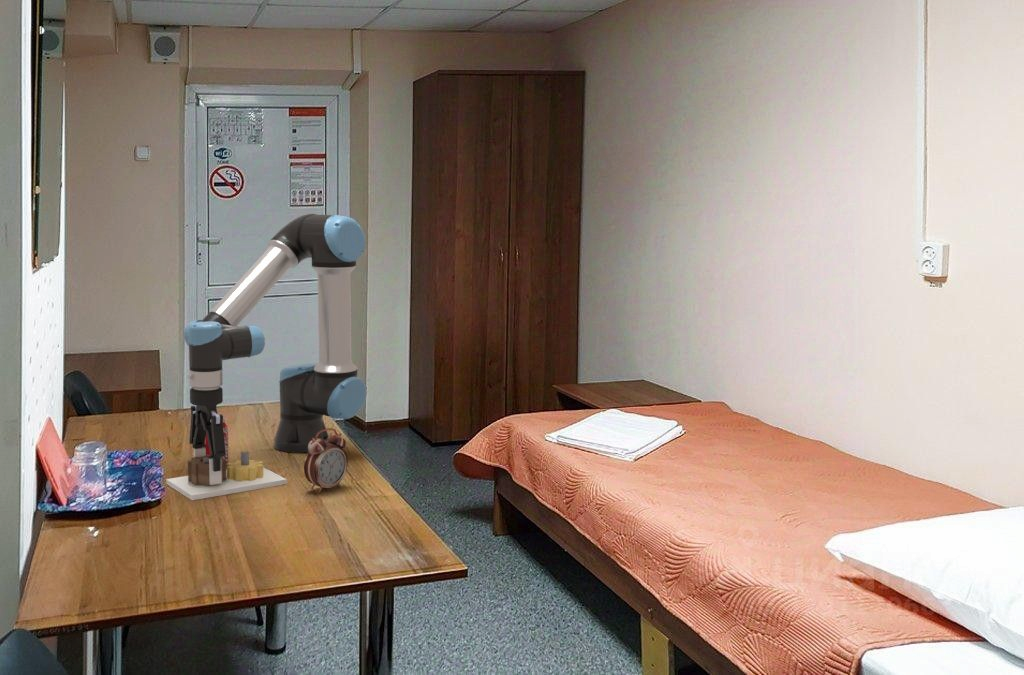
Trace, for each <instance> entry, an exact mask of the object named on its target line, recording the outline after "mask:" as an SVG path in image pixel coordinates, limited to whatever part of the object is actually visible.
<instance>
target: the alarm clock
mask: <svg viewBox="0 0 1024 675" xmlns="http://www.w3.org/2000/svg"><path fill="white" fill-rule="evenodd" d="M323 431H327V432H328V431H334V434H333V435H331V436H329V440H328V439H327V440H322V439H320V438H317V437H318V435H319V434H320V433H321V432H323ZM325 442H328V443H325ZM345 448H346V440H345V438H344V437H342V432H340V433H338V432H337V430H336V428H332V427H331V428H326V429H323V430H321V431H319V432H318V433H317V435H316V437H315V439H314V438H312V440H311V441H310V442H309V444H308V451H309V452H307V454H306V455H305V458H304V460H303V461H304V462H303V473H304V475H305V478H306V480H307V481H308V482H309V483H310V484H311V485H312V487H311V488H310V489H311V490H313V489H314V487H315V486H316V487H319V489H318V492H317V493H318V494H320V493H321V491H322V489H323V488H326V489H331V488H334V487H336V486H338V488H339V487H340V488H341V487H342V486H341V482H342V481H343V479H344V477H345V475H346V473H347V471H348V465H349V464H348V462H349V461H348V460H349V459H348V456H347V453H346V451H345V450H344V449H345Z"/></svg>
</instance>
